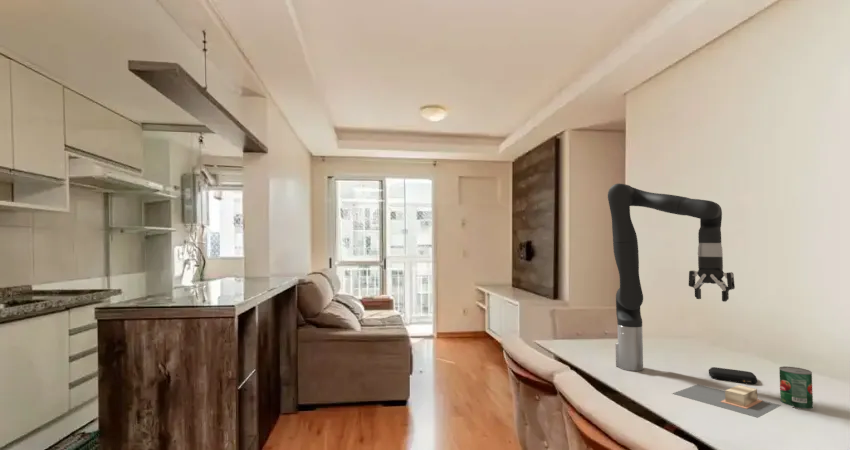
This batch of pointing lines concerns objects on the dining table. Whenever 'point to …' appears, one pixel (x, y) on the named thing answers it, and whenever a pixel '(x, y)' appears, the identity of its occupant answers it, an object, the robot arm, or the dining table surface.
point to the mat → (718, 399)
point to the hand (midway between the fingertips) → (711, 300)
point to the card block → (741, 395)
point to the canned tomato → (796, 387)
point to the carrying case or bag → (732, 375)
